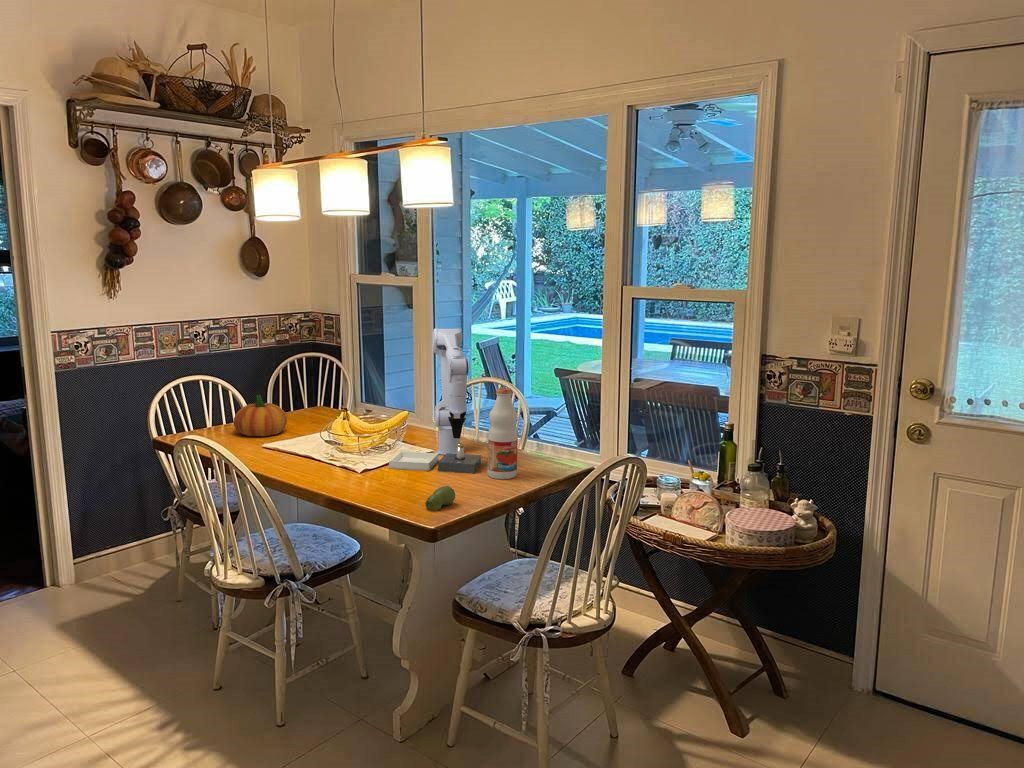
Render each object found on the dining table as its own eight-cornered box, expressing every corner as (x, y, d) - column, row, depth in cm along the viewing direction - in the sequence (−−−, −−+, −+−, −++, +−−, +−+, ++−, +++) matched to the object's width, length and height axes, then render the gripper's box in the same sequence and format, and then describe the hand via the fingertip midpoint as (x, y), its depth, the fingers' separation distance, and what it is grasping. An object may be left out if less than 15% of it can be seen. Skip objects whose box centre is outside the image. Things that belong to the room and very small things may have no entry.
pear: (458, 485, 218) (435, 499, 210) (460, 502, 219) (437, 517, 211) (443, 481, 221) (419, 495, 213) (445, 498, 222) (421, 512, 215)
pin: (457, 466, 258) (457, 442, 257) (464, 466, 258) (464, 443, 256) (455, 468, 256) (456, 444, 254) (462, 468, 255) (463, 444, 254)
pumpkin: (278, 440, 288) (277, 400, 286) (226, 438, 288) (225, 399, 286) (293, 428, 307) (292, 391, 305) (244, 427, 307) (243, 390, 305)
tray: (400, 458, 266) (400, 451, 266) (438, 460, 264) (438, 453, 264) (389, 468, 253) (389, 460, 253) (428, 471, 251) (428, 463, 251)
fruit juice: (502, 470, 255) (504, 385, 250) (522, 476, 248) (525, 389, 244) (481, 475, 248) (482, 388, 244) (501, 481, 242) (503, 392, 237)
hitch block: (446, 461, 263) (446, 453, 263) (481, 463, 262) (481, 455, 261) (438, 471, 252) (438, 462, 251) (474, 473, 250) (474, 464, 249)
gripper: (446, 390, 262) (445, 430, 264) (444, 398, 248) (444, 440, 250) (467, 391, 262) (466, 430, 264) (466, 399, 248) (466, 440, 250)
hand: (457, 435), depth 257 cm, fingers open, 7 cm apart
